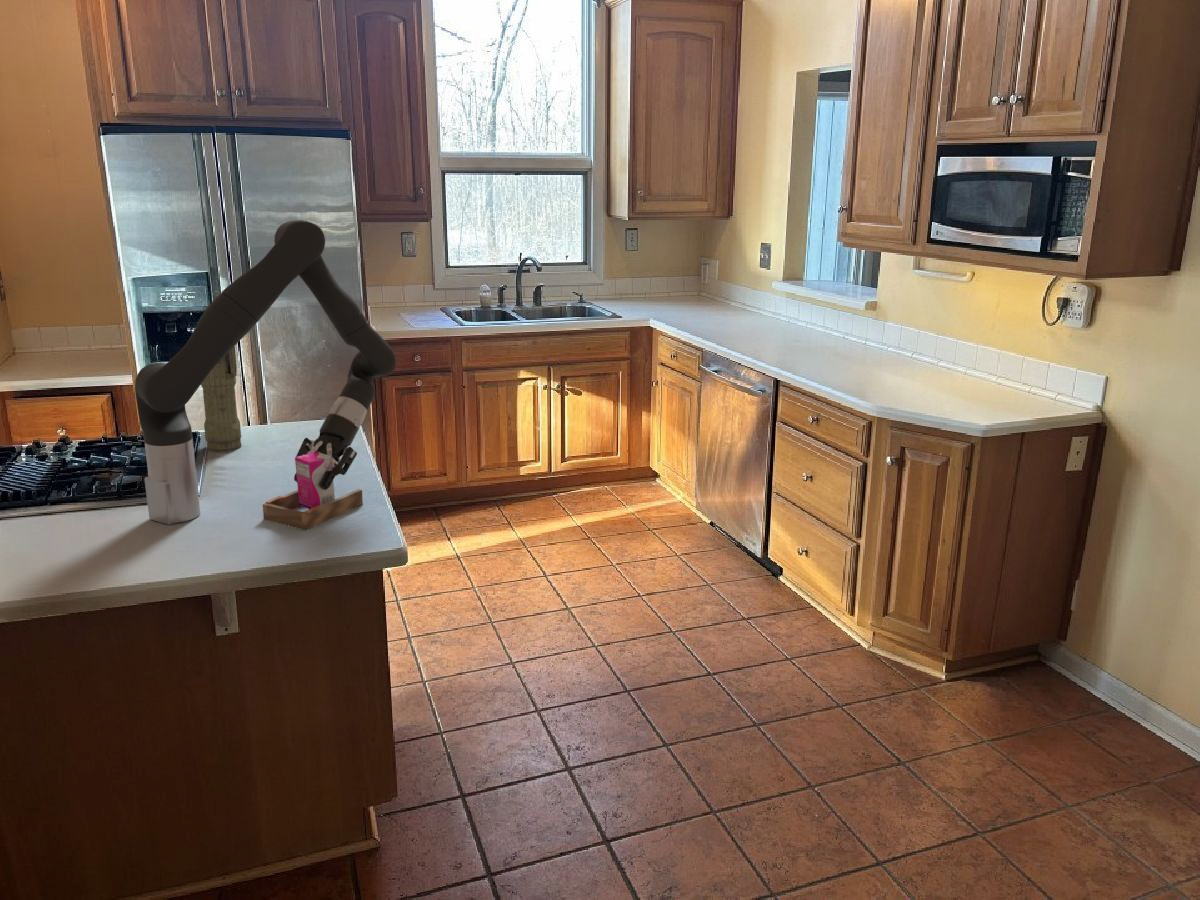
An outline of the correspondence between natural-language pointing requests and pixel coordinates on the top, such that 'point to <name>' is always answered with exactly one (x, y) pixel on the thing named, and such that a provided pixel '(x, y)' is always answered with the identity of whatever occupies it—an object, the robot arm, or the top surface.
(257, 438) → the top surface
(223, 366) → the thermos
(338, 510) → the channel
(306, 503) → the supplement box
